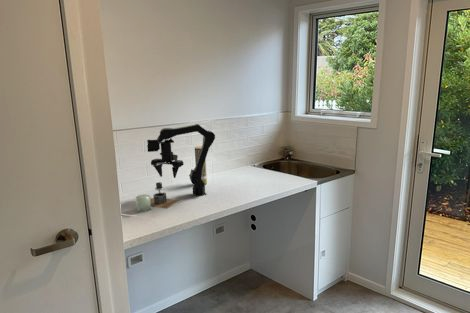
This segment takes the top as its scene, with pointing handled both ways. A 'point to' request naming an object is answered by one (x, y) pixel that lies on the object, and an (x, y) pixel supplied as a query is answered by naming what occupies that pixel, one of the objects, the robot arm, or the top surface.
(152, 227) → the top surface
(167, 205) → the walnut board
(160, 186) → the plunger
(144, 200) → the sage mug
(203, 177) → the paper tube
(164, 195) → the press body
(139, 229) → the top surface
